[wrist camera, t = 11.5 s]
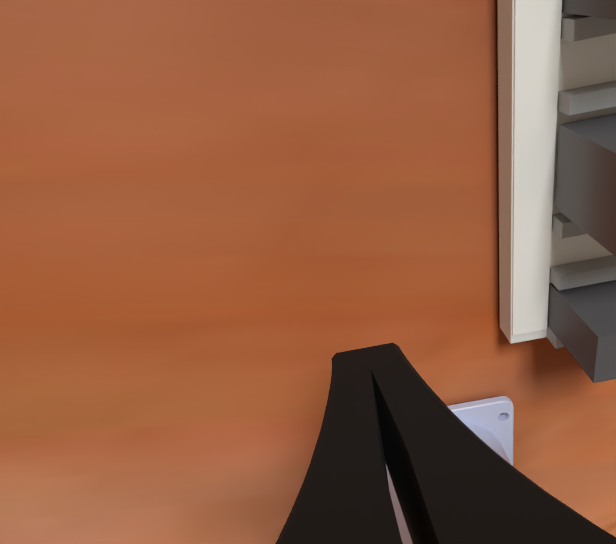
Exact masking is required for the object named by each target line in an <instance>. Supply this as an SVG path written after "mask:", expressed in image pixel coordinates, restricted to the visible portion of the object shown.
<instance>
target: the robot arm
mask: <svg viewBox="0 0 616 544" xmlns="http://www.w3.org/2000/svg"><path fill="white" fill-rule="evenodd" d="M502 413H504V414H502ZM500 414H502V415H500ZM513 423H514V406H513V403H512V401H511V400H510V399H509V398H508V397H506V396H499V397H494V398H488V399H482V400H477V401H471V402H466V403H460V404H455V405H449V406H446V404H445V403H444V402H443V401H442V400H441V399H440V398H439V397H438V396H437V395H436V394H435V393H434V392H433V391H432V389H431V388H430V387H429V386H428V385H427V384H426V382H425V381H424V380H423V379H422V378H421V376H420V375H419V374H418V373H417V372H416V370H415V369H414V368H413V366H412V365H411V364H410V362H409V361H408V360H407V358H406V357H405V355H404V354H403V353H402V351H401V349H400V348H399V346H397V345H396V344H394V343H389V344H383V345H378V346H373V347H367V348H362V349H356V350H351V351H346V352H340V353H336V354H335V355H334V356H333V358H332V376H331V384H330V390H329V396H328V401H327V406H326V410H325V414H324V418H323V423H322V427H321V430H320V434H319V437H318V440H317V444H316V447H315V450H314V453H313V456H312V459H311V463H310V465H309V468H308V471H307V474H306V476H305V479H304V482H303V484H302V487H301V489H300V492H299V494H298V496H297V499H296V501H295V504H294V506H293V508H292V511H291V513H290V515H289V517H288V519H287V521H286V523H285V525H284V527H283V530H282V532H281V534H280V536H279V538H278V540H277V542H276V544H616V537H614V536H613V535H611V534H609V533H608V532H606V531H604V530H603V529H601V528H600V527H598V526H596V525H595V524H593V523H592V522H590V521H589V520H587V519H586V518H584V517H583V516H581V515H580V514H578V513H577V512H575V511H574V510H573V509H571V508H570V507H568V506H567V505H565V504H564V503H562V502H561V501H559V500H558V499H556V498H555V497H553V496H552V495H550V494H549V493H547V492H546V491H544V490H543V489H542V488H540V487H539V486H538V485H536V484H535V483H534V482H532V481H531V480H530V479H529V478H527V477H526V476H525V475H523V474H522V473H521V472H519V471H518V470H517V469H516V468H514V467H513Z"/></svg>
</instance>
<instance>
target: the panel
mask: <svg viewBox="0 0 616 544" xmlns="http://www.w3.org/2000/svg"><path fill="white" fill-rule="evenodd" d="M611 114H616V0H498V137H499V285H500V328H501V330H502V331H503V333H504V334H505V336H506V337H507V339H508V341H509V342H510V344H512V343H517V342H523V341H528V340H534V339H539V338H545V337H547V338H548V340H549V341H550V342H551V344H552V345H553V346H554V348H555V349H558V348H563V347H565V348H566V349H567V350H568V351H569V353H570V354H571V355H572V356H573V358H574V359H575V360H576V361H577V363H578V364H579V365H580V366H581V368H582V369H583V370H584V371H585V373H586V374H587V375H588V377H589V378H590V379H591V380H592V382H593V383H596V382H601V381H607V380H612V379H616V257H615V256H614V255H613V254H611V253H610V252H609V251H608V250H607V249H605V248H604V247H603V246H602V245H600V244H599V243H598V242H597V241H596V240H594V239H593V238H592V237H591V236H589V235H588V234H587V233H586V232H584V231H583V230H582V229H581V228H580V227H578V226H577V225H576V224H575V223H573V222H572V221H571V220H570V219H568V218H567V217H566V216H565V215H564V214H562V213H561V212H560V211H559V210H557V209H556V187H557V167H558V147H559V126H560V124H565V123H570V122H575V121H580V120H585V119H590V118H595V117H601V116H606V115H611Z"/></svg>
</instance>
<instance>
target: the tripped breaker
mask: <svg viewBox="0 0 616 544" xmlns="http://www.w3.org/2000/svg"><path fill="white" fill-rule="evenodd" d="M556 209H557V210H559V211H560V212H561V213H562V214H564V215H565V216H566V217H567V218H568V219H570V220H571V221H572V222H573V223H575V224H576V225H577V226H578V227H580V228H581V229H582V230H583V231H584V232H586V233H587V234H588V235H589V236H591V237H592V238H593V239H594V240H596V241H597V242H598V243H599V244H600V245H602V246H603V247H604V248H605V249H607V250H608V251H609V252H610V253H611V254H613V255H614V256H615V257H616V114H611V115H606V116H601V117H595V118H590V119H585V120H580V121H575V122H570V123H565V124H560V126H559V147H558V167H557V187H556Z"/></svg>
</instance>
